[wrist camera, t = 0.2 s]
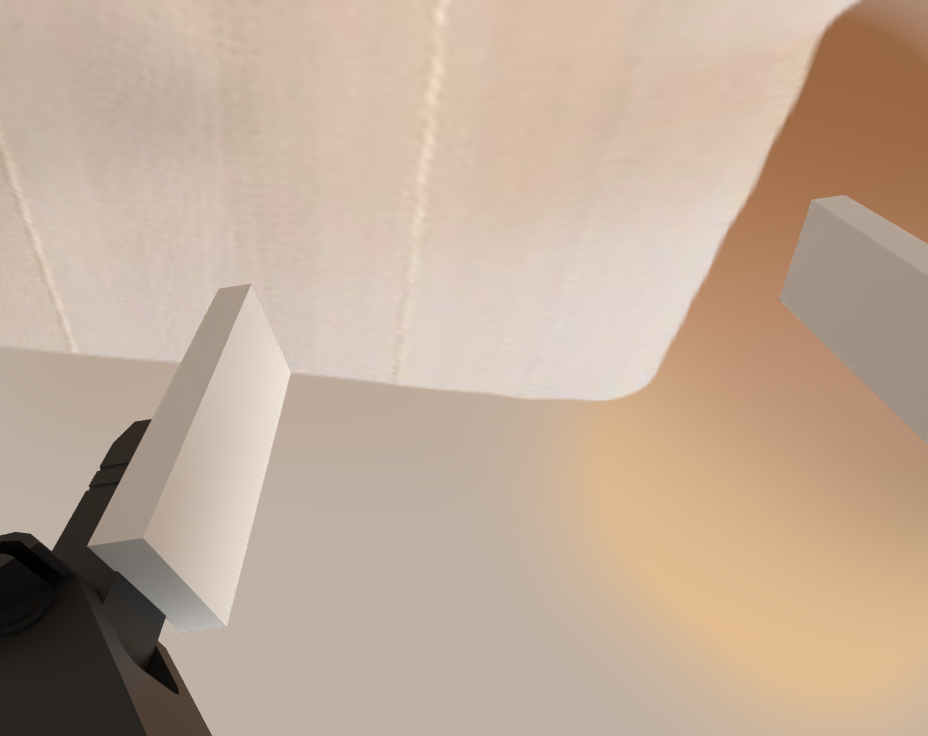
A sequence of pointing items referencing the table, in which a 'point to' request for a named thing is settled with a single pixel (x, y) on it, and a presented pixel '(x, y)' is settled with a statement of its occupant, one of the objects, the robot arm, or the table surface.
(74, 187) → the table surface
